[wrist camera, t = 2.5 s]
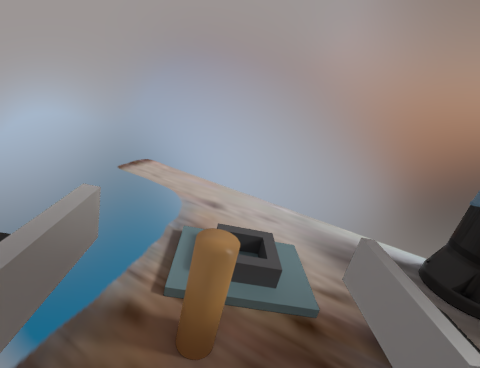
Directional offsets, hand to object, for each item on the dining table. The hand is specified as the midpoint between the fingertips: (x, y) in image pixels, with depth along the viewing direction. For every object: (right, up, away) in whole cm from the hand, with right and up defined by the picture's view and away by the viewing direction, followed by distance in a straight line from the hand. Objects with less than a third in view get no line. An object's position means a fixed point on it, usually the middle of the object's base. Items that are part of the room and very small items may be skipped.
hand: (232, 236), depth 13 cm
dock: (0, -12, +31) cm, 33 cm away
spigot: (-5, -16, +18) cm, 24 cm away
